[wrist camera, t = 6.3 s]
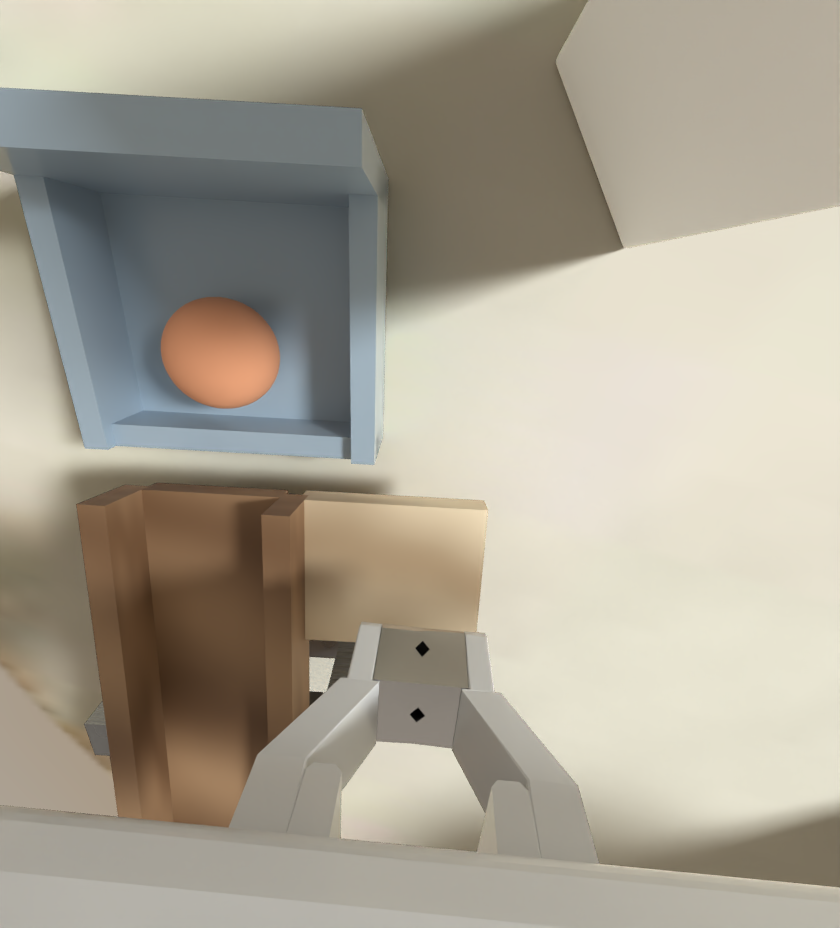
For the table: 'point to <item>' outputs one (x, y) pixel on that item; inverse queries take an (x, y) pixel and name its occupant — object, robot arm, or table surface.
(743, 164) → the milk
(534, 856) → the robot arm
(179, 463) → the table surface
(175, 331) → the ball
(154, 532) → the lever
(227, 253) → the light blue open box
